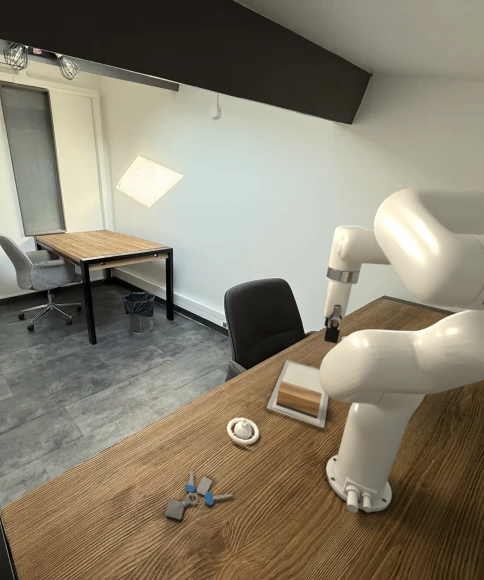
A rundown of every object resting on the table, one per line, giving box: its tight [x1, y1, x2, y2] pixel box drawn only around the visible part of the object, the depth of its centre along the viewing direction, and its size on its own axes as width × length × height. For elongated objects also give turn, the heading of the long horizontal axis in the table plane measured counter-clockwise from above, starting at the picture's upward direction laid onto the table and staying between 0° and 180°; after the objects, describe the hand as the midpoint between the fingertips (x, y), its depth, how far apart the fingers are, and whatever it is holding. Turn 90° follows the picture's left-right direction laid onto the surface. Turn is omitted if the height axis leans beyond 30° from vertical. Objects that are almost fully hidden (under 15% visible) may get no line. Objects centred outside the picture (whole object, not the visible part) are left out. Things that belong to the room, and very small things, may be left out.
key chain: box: [164, 470, 234, 520], centre depth 62 cm, size 14×8×1 cm, turn 114°
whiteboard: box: [266, 359, 330, 429], centre depth 94 cm, size 28×15×1 cm, turn 153°
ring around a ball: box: [226, 417, 260, 446], centre depth 76 cm, size 8×6×8 cm
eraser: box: [276, 381, 322, 419], centre depth 85 cm, size 5×11×5 cm, turn 63°
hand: (330, 334), depth 84 cm, fingers open, 9 cm apart
